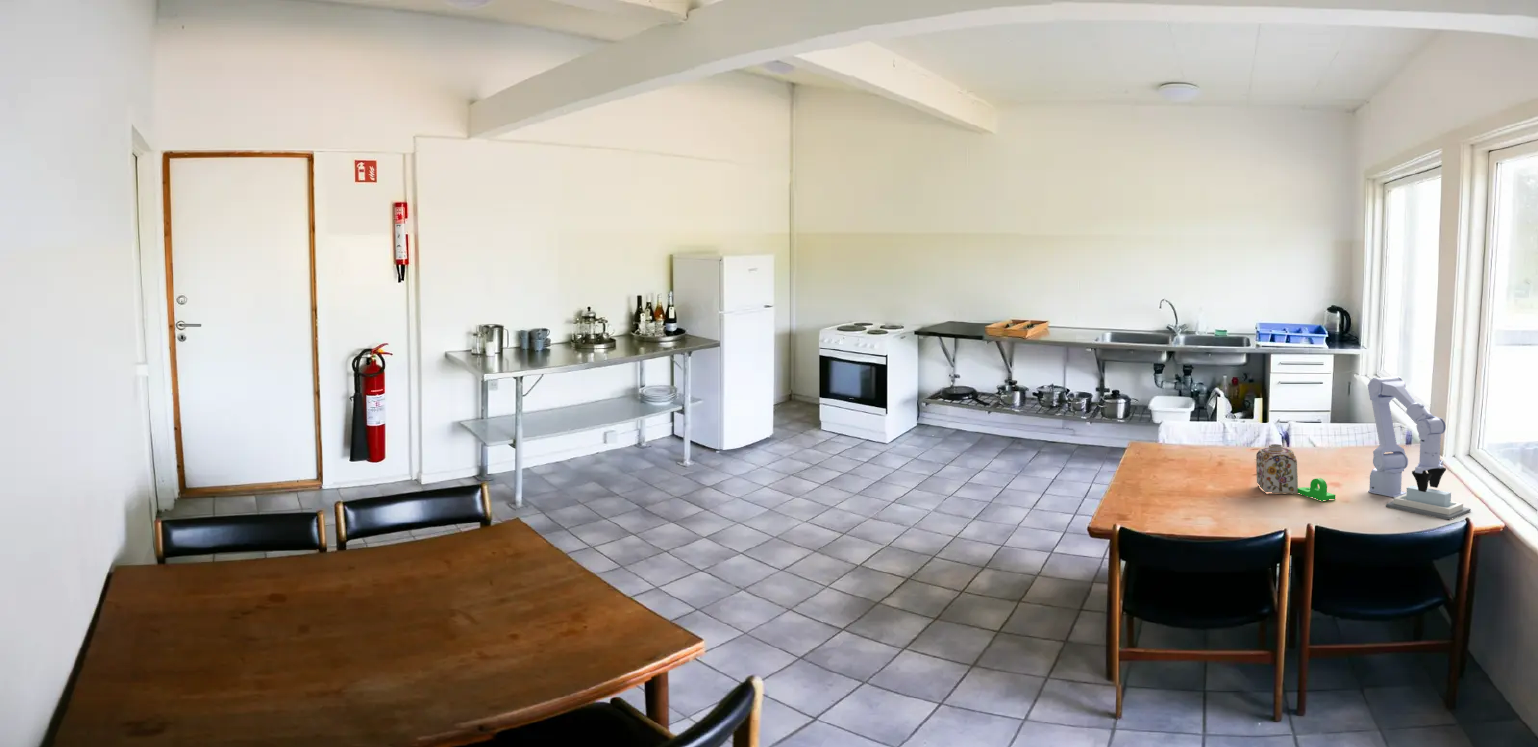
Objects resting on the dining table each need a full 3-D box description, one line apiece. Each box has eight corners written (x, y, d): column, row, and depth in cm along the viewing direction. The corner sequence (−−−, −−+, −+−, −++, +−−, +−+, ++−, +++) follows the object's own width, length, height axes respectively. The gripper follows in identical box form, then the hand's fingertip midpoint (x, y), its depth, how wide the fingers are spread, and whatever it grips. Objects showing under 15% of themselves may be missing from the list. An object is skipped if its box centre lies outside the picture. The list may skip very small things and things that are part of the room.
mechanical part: (1335, 500, 331) (1336, 479, 330) (1321, 501, 329) (1323, 480, 328) (1308, 491, 342) (1309, 471, 341) (1295, 493, 341) (1296, 472, 340)
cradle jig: (1386, 506, 320) (1386, 498, 319) (1407, 498, 326) (1407, 491, 326) (1449, 520, 302) (1450, 511, 302) (1470, 511, 309) (1470, 503, 308)
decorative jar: (1256, 486, 354) (1255, 442, 351) (1289, 485, 350) (1288, 441, 348) (1264, 495, 342) (1263, 449, 340) (1298, 494, 339) (1297, 448, 337)
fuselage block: (1406, 503, 319) (1406, 487, 318) (1412, 501, 320) (1412, 485, 319) (1444, 511, 308) (1445, 494, 307) (1450, 509, 310) (1451, 492, 309)
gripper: (1431, 457, 304) (1430, 495, 307) (1453, 450, 311) (1451, 487, 313) (1409, 453, 311) (1407, 491, 313) (1431, 446, 317) (1429, 483, 319)
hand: (1428, 489), depth 313 cm, fingers open, 7 cm apart
